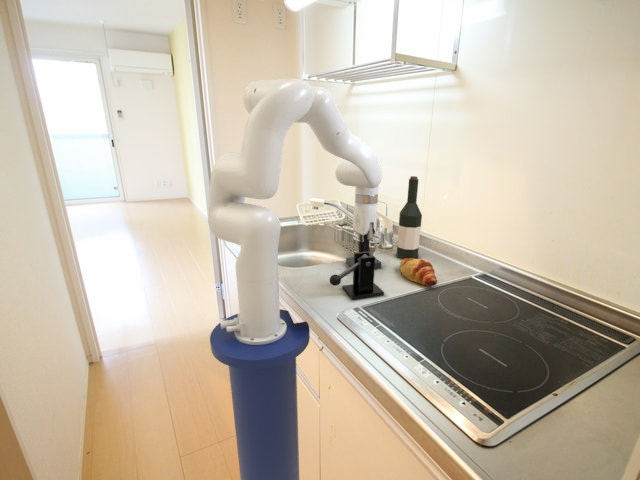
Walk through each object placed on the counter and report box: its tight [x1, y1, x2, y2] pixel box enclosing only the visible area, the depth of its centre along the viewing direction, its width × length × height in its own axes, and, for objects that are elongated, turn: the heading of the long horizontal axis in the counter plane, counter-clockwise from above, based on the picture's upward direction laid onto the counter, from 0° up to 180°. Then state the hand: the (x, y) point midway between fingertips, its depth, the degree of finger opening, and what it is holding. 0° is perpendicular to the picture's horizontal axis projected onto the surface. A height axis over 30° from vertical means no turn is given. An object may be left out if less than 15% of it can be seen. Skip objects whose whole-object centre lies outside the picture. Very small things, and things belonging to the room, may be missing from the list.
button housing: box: [345, 252, 382, 270], centre depth 127 cm, size 10×8×4 cm
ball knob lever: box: [329, 254, 368, 287], centre depth 103 cm, size 13×3×3 cm, turn 112°
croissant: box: [399, 258, 438, 287], centre depth 118 cm, size 21×10×8 cm, turn 21°
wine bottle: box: [396, 175, 423, 261], centre depth 133 cm, size 8×8×30 cm
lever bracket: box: [341, 251, 385, 301], centre depth 105 cm, size 10×8×12 cm
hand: (363, 251), depth 126 cm, fingers closed
